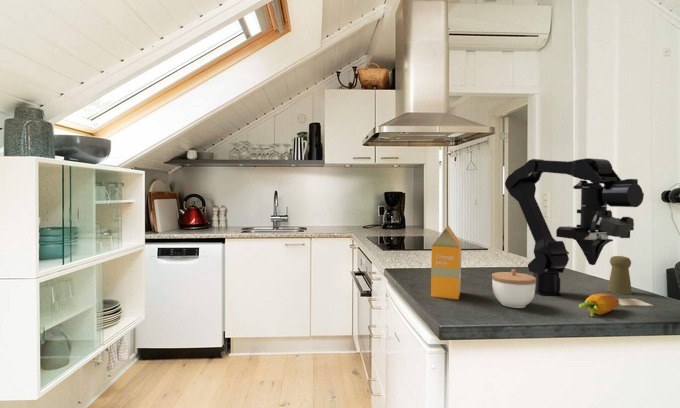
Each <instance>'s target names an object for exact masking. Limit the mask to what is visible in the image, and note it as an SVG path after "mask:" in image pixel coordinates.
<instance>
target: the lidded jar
mask: <svg viewBox="0 0 680 408" xmlns="http://www.w3.org/2000/svg"><path fill="white" fill-rule="evenodd" d="M491 278H492V279H491V282H492V284H491V285H492V292H493V295H494V297H495V298H496V299H497V301H498V302H499V303H500V305H502V306H503V307H507V308H512V309H525V308H526V307H527V305H528V304H530V303H531V302H532V300H533V299H534V297H535V293H536V292H535V287H536V278H535V277H534V276H533V275H530V274H526V273H523V272H522V273H521V272H517V270H516V269H511V271H506V272H505V271H498V272H496V271H495V272H493V273H492V274H491Z"/></svg>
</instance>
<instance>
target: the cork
mask: <svg viewBox="0 0 680 408" xmlns="http://www.w3.org/2000/svg"><path fill="white" fill-rule="evenodd" d="M609 264H610V265H611V269H610V275H609V279H608V280H609V281H608V285H607V291H608V292H610V293H613V294H619V295H627V296H628V295H633V291H632V282H631V276H630V269H629V268H630V267H631V265H632V261H631V259H630V258H629V257H626V256H623V255H622V256H621V255H614V256H613V255H612V256H611V257H610V258H609Z"/></svg>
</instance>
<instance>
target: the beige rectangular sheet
mask: <svg viewBox="0 0 680 408" xmlns="http://www.w3.org/2000/svg"><path fill="white" fill-rule="evenodd" d="M617 299H618V300H619V304H618V305H619V306H622V307H653V306H654V305H653V304H651V303H648V302H645V301H643V300H639V299H637V298H617Z"/></svg>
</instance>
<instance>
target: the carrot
mask: <svg viewBox="0 0 680 408" xmlns="http://www.w3.org/2000/svg"><path fill="white" fill-rule="evenodd" d="M618 299H619V298H618V297H616V296H615V295H613V294H607V293H595V294H594V293H593V294H591V295H590V296H588V297H587V298H586V299H585V301H584V302H582V303H579V305H578V308H579V309H587V310H588V311H589V312H590V317H592V318H593V317H594V314H596V315H598V316H601V315H604V314H608V313H609V312H610V313H611V311H613V310H614V309H616V308H617V307H619V305H620V304H619V300H618Z"/></svg>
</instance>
